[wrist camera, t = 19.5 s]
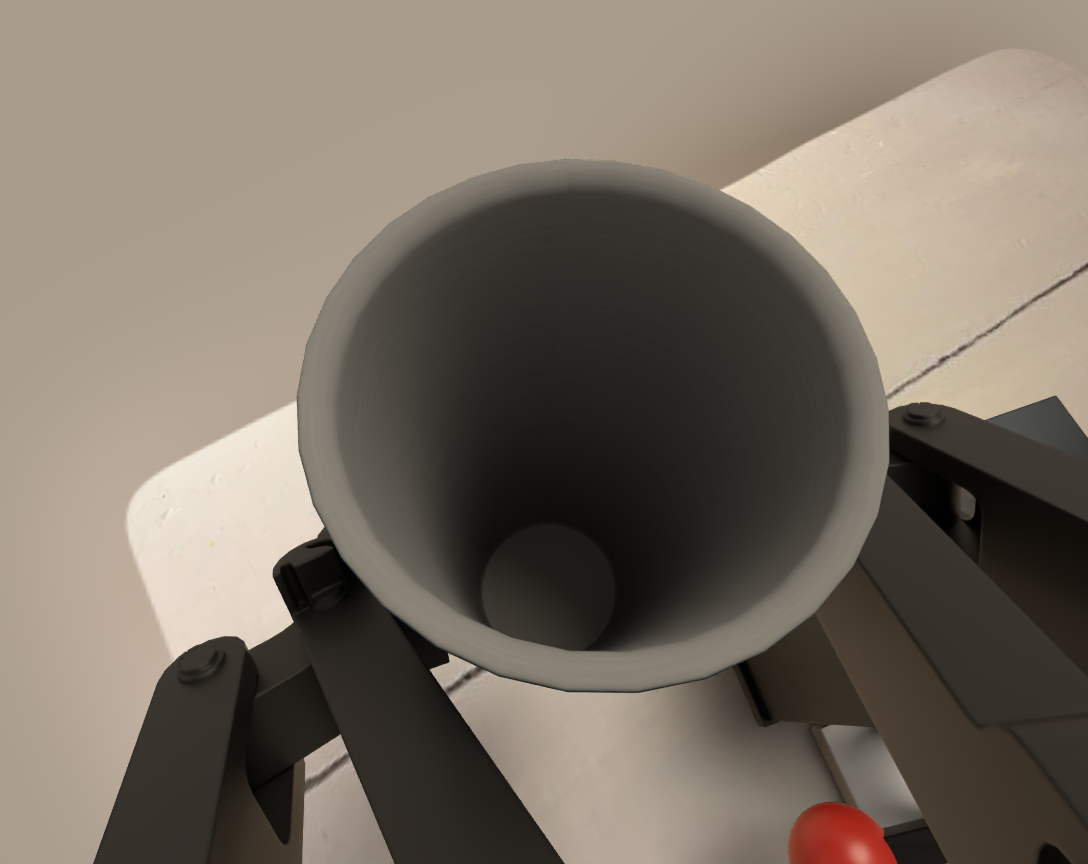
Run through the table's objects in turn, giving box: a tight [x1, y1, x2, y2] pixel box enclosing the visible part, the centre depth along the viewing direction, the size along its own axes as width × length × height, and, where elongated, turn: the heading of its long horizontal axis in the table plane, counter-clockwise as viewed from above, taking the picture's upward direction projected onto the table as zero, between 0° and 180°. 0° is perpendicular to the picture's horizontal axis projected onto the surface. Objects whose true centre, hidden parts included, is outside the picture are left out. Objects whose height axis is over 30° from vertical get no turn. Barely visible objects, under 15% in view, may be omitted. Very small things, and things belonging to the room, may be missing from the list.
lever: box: [788, 802, 948, 864], centre depth 20 cm, size 13×4×4 cm
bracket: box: [811, 724, 924, 828], centre depth 23 cm, size 10×6×14 cm, turn 109°
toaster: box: [733, 396, 1088, 728], centre depth 27 cm, size 13×8×12 cm
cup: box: [297, 159, 889, 693], centre depth 14 cm, size 7×7×15 cm
